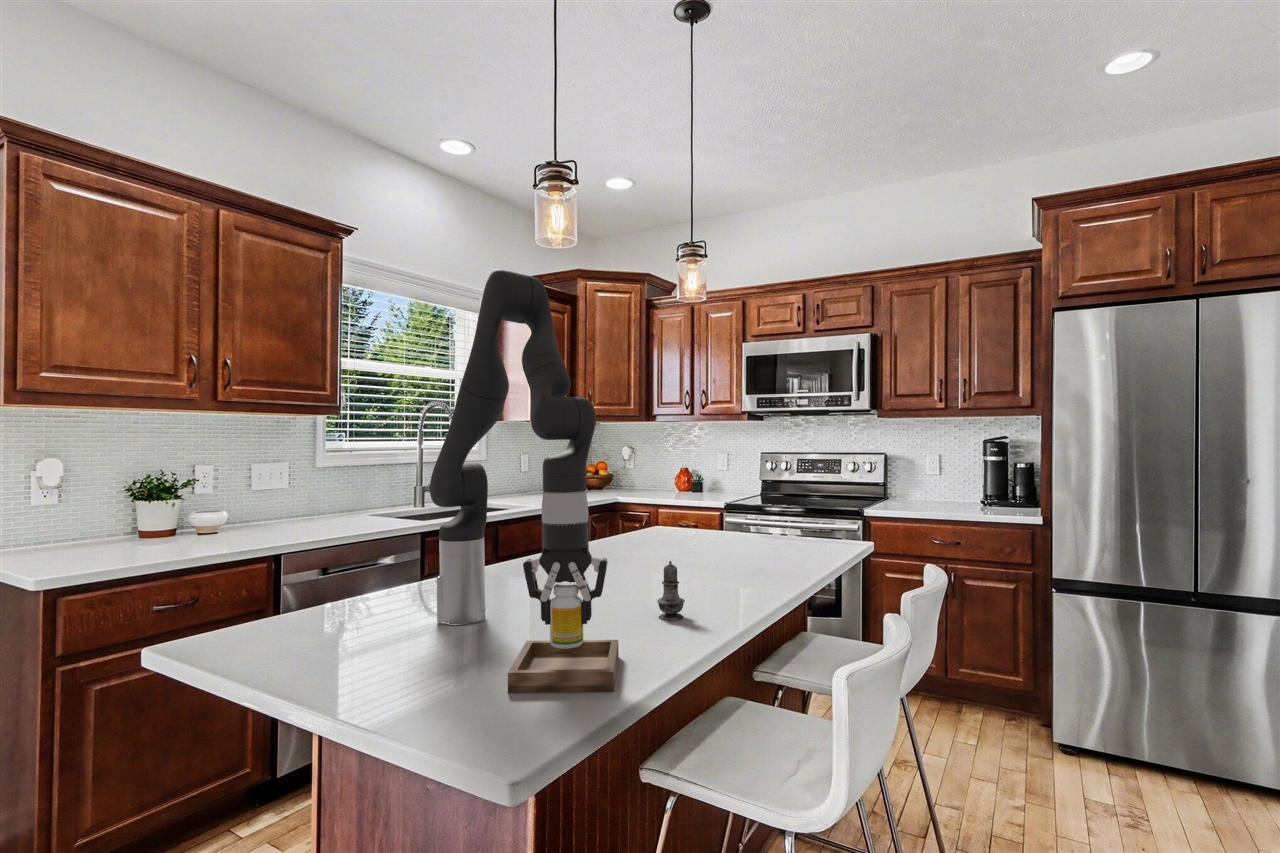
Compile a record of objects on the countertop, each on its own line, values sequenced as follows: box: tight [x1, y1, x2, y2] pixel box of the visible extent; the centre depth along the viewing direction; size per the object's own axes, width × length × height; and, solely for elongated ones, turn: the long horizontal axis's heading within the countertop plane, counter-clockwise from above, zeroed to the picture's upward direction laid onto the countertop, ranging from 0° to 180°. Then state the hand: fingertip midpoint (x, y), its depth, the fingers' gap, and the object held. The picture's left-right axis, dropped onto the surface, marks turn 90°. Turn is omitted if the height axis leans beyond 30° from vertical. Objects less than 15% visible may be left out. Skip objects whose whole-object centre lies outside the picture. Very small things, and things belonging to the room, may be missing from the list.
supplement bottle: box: [549, 582, 584, 649], centre depth 111 cm, size 5×5×10 cm
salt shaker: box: [656, 560, 686, 622], centre depth 143 cm, size 6×6×12 cm
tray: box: [507, 639, 619, 694], centre depth 111 cm, size 16×16×3 cm
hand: (566, 622), depth 111 cm, fingers closed on supplement bottle, 5 cm apart
